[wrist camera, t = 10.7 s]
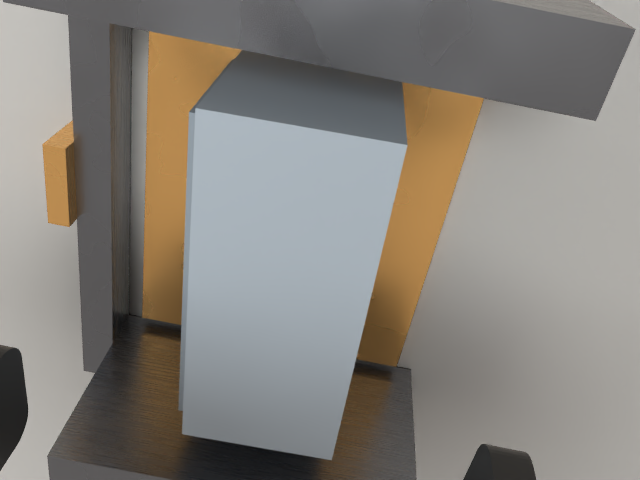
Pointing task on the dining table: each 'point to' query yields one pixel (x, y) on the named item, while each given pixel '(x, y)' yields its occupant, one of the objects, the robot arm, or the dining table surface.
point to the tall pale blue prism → (283, 247)
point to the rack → (170, 196)
